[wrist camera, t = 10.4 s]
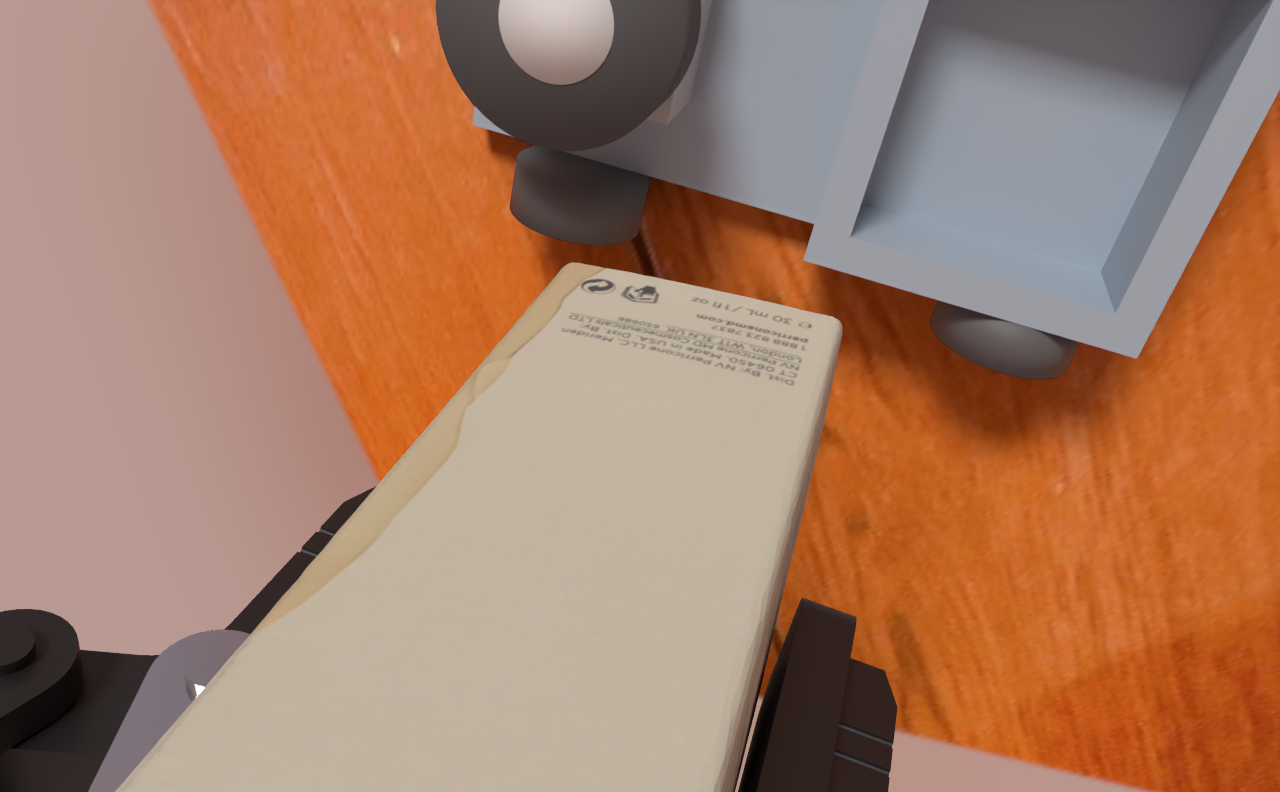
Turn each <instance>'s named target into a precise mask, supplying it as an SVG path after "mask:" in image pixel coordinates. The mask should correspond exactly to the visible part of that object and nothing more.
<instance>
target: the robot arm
mask: <svg viewBox="0 0 1280 792" xmlns="http://www.w3.org/2000/svg"><path fill="white" fill-rule="evenodd" d="M375 488H376V487H374V488H372V489H370V490H368V491H366V492H364V493H362V494H360V495H358V496H355V497H353V498H351V499H350V500H347V501H345V502H344V503H343V504H342V505H341V506H340V507H339V508H338V509H337V510H336V511H335V512H334V513H333V515H331V517H330V518H329V519H328V520H327V521H326V522H325V523H324V524H323V525H322V526H321V529H320V531H319V532H316V533H315V534H314V535H313V536H312V537H311V538H310V539H309V540H308V541H307V542H306V543H305V544H304V545H303V547H302V550H301V552H300V553H299V552H297V553H296V554H295V555H294V556H293V557H292V558H291V560H289V562H288V563H287V564H286V565H285V566H284V567H283V568H282V569H281V570H280V571H279V572H278V573H277V574H276V576H275V577H274V578H273V579H272V580H271V581H270V582H269V583H268V584H267V585H266V586H265V587H264V588H263V589H262V591H261V592H260V593H259V594H258V595H257V596H256V597H255V598H254V599H253V600H252V601H251V602H250V603H249V604H248V606H247V607H246V608H245V609H244V610H243V611H242V612H241V613H240V614H239V615H238V616H237V617H236V618H235V619H234V621H233V622H232V623H231V624H230V625H229V626H228V627H226V628H225V629H224V630H211V631H206V632H200V633H197V634H194V635H190V636H188V637H186V638H184V639H181V640H179V641H177V642H176V643H174V644H173V645H171V646H169V647H168V648H167V649H166V650H165V651H163V652H162V653H161V654H160V655H154V656H150V655H132V654H120V653H109V652H98V651H86V650H80V648H79V642H78V637H77V634H76V632H75V630H74V629H73V627H72V626H71V625H70V624H69V623H68V622H67V621H66V620H64V619H63V618H62V617H60V616H57V615H55V614H53V613H50V612H46V611H42V610H33V609H16V610H9V611H3V612H0V792H115V791H116V790H117V789H118V788H119V787H120V786H121V784H122V783H123V782H124V781H125V780H126V778H127V777H128V776H129V775H130V774H131V773H132V771H133V770H134V769H135V768H136V767H137V766H138V764H139V763H140V762H141V761H142V760H143V759H144V757H145V756H146V755H147V754H148V753H149V752H150V750H151V749H152V748H153V747H154V746H155V744H156V743H157V742H158V741H159V740H160V739H161V737H162V736H163V735H164V734H165V733H166V732H167V731H168V729H169V728H170V727H171V726H172V725H173V724H174V723H175V721H176V720H177V719H178V718H179V717H180V716H181V715H182V713H183V712H184V711H185V710H186V709H187V708H188V707H189V705H190V704H191V703H192V702H193V701H194V700H195V699H196V697H197V696H198V695H199V694H200V693H201V691H202V690H203V689H204V688H205V687H206V685H207V684H208V683H209V682H210V681H211V679H212V678H213V677H214V676H215V675H216V673H217V672H218V671H219V670H220V669H221V667H222V666H223V665H224V664H225V663H226V661H227V660H228V659H229V658H230V657H231V656H232V655H233V654H234V652H235V651H236V650H237V649H238V648H239V647H240V646H241V645H242V644H243V643H244V641H245V640H246V639H247V638H248V637H249V636H250V634H251V633H252V632H253V631H254V630H255V628H256V627H257V626H258V625H259V624H260V623H261V621H262V620H263V619H264V618H265V617H266V615H267V614H268V613H269V612H270V611H271V609H272V608H273V607H274V606H275V605H276V603H277V602H278V601H279V600H280V599H281V597H282V596H283V595H284V594H285V593H286V592H287V591H288V590H289V589H290V587H291V586H292V585H293V584H294V583H295V582H296V581H297V580H298V579H299V577H300V576H301V575H302V573H303V572H304V570H305V569H306V568H307V567H308V566H309V564H310V563H311V562H312V561H313V560H314V559H315V558H316V557H317V556H318V555H319V553H320V552H321V551H322V550H323V549H324V548H325V547H326V545H327V544H328V543H329V541H330V540H331V539H332V538H333V536H334V535H335V534H336V533H337V531H338V530H339V529H340V528H341V527H342V526H343V525H344V523H345V522H346V521H347V520H348V519H349V518H350V517H351V516H352V514H353V513H354V512H355V511H356V510H357V509H358V507H359V506H360V505H361V504H362V503H363V502H364V500H365V499H366V498H367V497H368V496H369V495H370V493H371V492H372V491H373V490H374V489H375ZM855 628H856V617H855V616H852V615H849V614H846V613H843V612H841V611H838V610H835V609H832V608H829V607H827V606H824V605H821V604H818V603H815V602H813V601H810V600H807V599H804V598H802V599H801V601H800V603H799V606H798V608H797V610H796V613H795V616H794V618H793V621H792V623H791V626H790V629H789V631H788V634H787V636H786V639H785V641H784V644H783V647H782V649H781V652H780V654H779V657H778V659H777V662H776V665H775V667H774V670H773V672H772V675H771V678H770V680H769V683H768V686H767V689H766V692H765V695H764V698H763V701H762V704H761V708H760V711H759V714H758V718H757V721H756V725H755V729H754V733H753V736H752V741H751V744H750V748H749V752H748V756H747V759H746V763H745V767H744V771H743V775H742V778H741V782H740V786H739V790H738V792H888V786H889V777H888V776H889V772H890V769H891V760H892V750H893V749H892V744H893V740H894V732H895V723H896V714H897V705H896V702H895V699H894V696H893V693H892V690H891V688H890V685H889V682H888V679H887V676H886V673H885V671H884V670H881V669H879V668H876V667H873V666H870V665H868V664H865V663H862V662H859V661H857V660H854V659H851V658H850V657H851V651H852V645H853V639H854V633H855Z"/></svg>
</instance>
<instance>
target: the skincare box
mask: <svg viewBox="0 0 1280 792" xmlns="http://www.w3.org/2000/svg"><path fill="white" fill-rule="evenodd" d="M842 334H843V331H842V324H841V322H840V321H839V320H837V319H836V318H834V317H832V316H828V315H824V314H818V313H813V312H809V311H803V310H799V309H796V308H792V307H788V306H784V305H779V304H775V303H771V302H767V301H762V300H758V299H754V298H750V297H745V296H740V295H735V294H731V293H726V292H721V291H717V290H713V289H708V288H704V287H699V286H694V285H689V284H685V283H680V282H675V281H670V280H665V279H661V278H656V277H651V276H645V275H640V274H636V273H632V272H626V271H620V270H614V269H609V268H604V267H598V266H593V265H586V264H582V263H574V262H573V263H568V264H567V265H565V266H564V267H563V268H562V269H561V270H560V271H559V273H558V274H557V275H556V276H555V277H554V279H553V280H552V281H551V282H550V283H549V285H548V286H547V287H546V288H545V289H544V290H543V291H542V293H541V294H540V295H539V296H538V297H537V298H536V299H535V301H534V302H533V303H532V304H531V305H530V307H529V308H528V309H527V310H526V311H525V313H524V314H523V315H522V316H521V317H520V318H519V320H518V321H517V322H516V323H515V324H514V326H513V327H512V328H511V329H510V331H509V332H508V333H507V334H506V335H505V337H504V338H503V339H502V340H501V341H500V342H499V343H498V344H497V345H496V346H495V347H494V349H493V350H492V351H491V352H490V354H489V355H488V356H487V357H486V359H485V360H484V361H483V362H482V363H481V365H480V366H479V367H478V368H477V369H476V370H475V372H474V373H473V374H472V375H471V376H470V378H469V379H468V380H467V381H466V382H465V384H464V385H463V386H462V387H461V388H460V389H459V391H458V392H457V393H456V394H455V395H454V397H453V398H452V399H451V400H450V401H449V402H448V404H447V405H446V406H445V407H444V408H443V409H442V411H441V412H440V413H439V414H438V415H437V416H436V418H435V419H434V420H433V421H432V422H431V423H430V425H429V426H428V427H427V428H426V429H425V430H424V432H423V433H422V434H421V435H420V436H419V437H418V439H417V440H416V441H415V442H414V443H413V444H412V446H411V447H410V448H409V449H408V450H407V451H406V452H405V454H404V455H403V456H402V457H401V458H400V459H399V461H398V462H397V463H396V464H395V465H394V466H393V468H392V469H391V470H390V471H389V472H388V473H387V475H386V476H385V477H384V478H383V479H382V480H381V482H380V483H379V484H378V485H377V486H376V488H375V489H374V490H373V491H372V492H371V493H370V495H369V496H368V497H367V498H366V499H365V500H364V502H363V503H362V504H361V505H360V506H359V507H358V509H357V510H356V511H355V512H354V513H353V514H352V516H351V517H350V518H349V519H348V520H347V521H346V522H345V523H344V525H343V526H342V527H341V528H340V529H339V530H338V531H337V533H336V534H335V535H334V536H333V538H332V539H331V540H330V541H329V543H328V544H327V545H326V547H325V548H324V549H323V550H322V551H321V552H320V553H319V555H318V556H317V557H316V558H315V559H314V560H313V561H312V562H311V563H310V564H309V566H308V567H307V568H306V569H305V570H304V572H303V573H302V575H301V576H300V577H299V579H298V580H297V581H296V582H295V583H294V584H293V585H292V586H291V587H290V589H289V590H288V591H287V592H286V593H285V594H284V595H283V596H282V597H281V599H280V600H279V601H278V602H277V603H276V605H275V606H274V607H273V608H272V609H271V611H270V612H269V613H268V614H267V615H266V617H265V618H264V619H263V620H262V621H261V623H260V624H259V625H258V626H257V627H256V628H255V630H254V631H253V632H252V633H251V634H250V636H249V637H248V638H247V639H246V640H245V641H244V643H243V644H242V645H241V646H240V647H239V648H238V649H237V650H236V651H235V652H234V654H233V655H232V656H231V657H230V658H229V659H228V660H227V661H226V663H225V664H224V665H223V666H222V667H221V669H220V670H219V671H218V672H217V673H216V675H215V676H214V677H213V678H212V679H211V681H210V682H209V683H208V684H207V685H206V687H205V688H204V689H203V690H202V691H201V693H200V694H199V695H198V696H197V697H196V699H195V700H194V701H193V702H192V703H191V704H190V705H189V707H188V708H187V709H186V710H185V711H184V712H183V713H182V715H181V716H180V717H179V718H178V719H177V720H176V721H175V723H174V724H173V725H172V726H171V727H170V728H169V729H168V731H167V732H166V733H165V734H164V735H163V736H162V737H161V739H160V740H159V741H158V742H157V743H156V744H155V746H154V747H153V748H152V749H151V750H150V752H149V753H148V754H147V755H146V756H145V757H144V759H143V760H142V761H141V762H140V763H139V764H138V766H137V767H136V768H135V769H134V770H133V771H132V773H131V774H130V775H129V776H128V777H127V778H126V780H125V781H124V782H123V783H122V784H121V786H120V787H119V788H118V789H117V790H116V791H115V792H735V789H736V785H737V780H738V777H739V773H740V769H741V764H742V761H743V756H744V752H745V748H746V744H747V740H748V736H749V732H750V728H751V724H752V720H753V716H754V712H755V708H756V704H757V700H758V696H759V692H760V688H761V684H762V680H763V675H764V670H765V666H766V662H767V658H768V654H769V649H770V645H771V641H772V637H773V633H774V629H775V624H776V621H777V617H778V613H779V609H780V604H781V599H782V595H783V591H784V587H785V583H786V579H787V574H788V570H789V566H790V562H791V558H792V554H793V550H794V546H795V542H796V538H797V534H798V530H799V526H800V522H801V518H802V514H803V510H804V506H805V502H806V498H807V493H808V489H809V485H810V481H811V477H812V472H813V468H814V464H815V460H816V455H817V451H818V447H819V443H820V438H821V434H822V429H823V425H824V420H825V416H826V411H827V407H828V402H829V397H830V392H831V388H832V383H833V378H834V373H835V368H836V363H837V358H838V353H839V348H840V343H841V338H842Z"/></svg>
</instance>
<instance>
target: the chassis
mask: <svg viewBox="0 0 1280 792" xmlns="http://www.w3.org/2000/svg"><path fill="white" fill-rule="evenodd" d="M1279 90H1280V0H701V26H700V32H699V38H698V43H697V46H696V50H695V53H694V57H693V59H692V61H691V64H690V66H689V68H688V71H687V72H686V74H685V76H684V77H683V79H682V81H681V82H680V84H679V86H678V87H677V88H676V89H675V91H674V92H673V93H672V94H671V96H670V97H669V98H668V99H667V100H666V101H665V102H664V103H663V104H662V105H661V106H660V107H658V108H657V109H656V110H655V111H654V112H653V113H652V114H651V115H650V116H649V117H648V118H647V119H646V120H644V121H643V122H642V123H641V124H640V125H639V126H638V127H637V128H635V129H634V130H632V131H631V132H630V133H628V134H627V135H625V136H624V137H622V138H620V139H618V140H616V141H614V142H612V143H609V144H606V145H604V146H601V147H598V148H593V149H588V150H583V151H557V150H550V149H545V148H540V147H536V146H532V147H528V148H526V149H524V150H522V151H520V152H519V153H518V155H517V159H516V166H515V173H514V180H513V187H512V194H511V201H510V210H511V212H512V214H513V216H514V217H515V218H516V219H517V220H518V221H519V222H521V223H522V224H523V225H525V226H527V227H528V228H530V229H532V230H534V231H536V232H538V233H541V234H543V235H546V236H549V237H552V238H555V239H559V240H563V241H567V242H572V243H578V244H587V245H612V244H619V243H623V242H626V241H629V240H631V239H633V238H634V237H636V236H637V235H638V233H639V230H640V226H641V221H642V216H643V212H644V207H645V202H646V198H647V193H648V188H649V184H650V181H649V178H648V176H650V177H654V178H657V179H660V180H664V181H667V182H671V183H674V184H678V185H681V186H685V187H688V188H691V189H695V190H698V191H702V192H705V193H709V194H712V195H716V196H719V197H722V198H726V199H729V200H733V201H736V202H740V203H743V204H747V205H750V206H754V207H757V208H760V209H764V210H767V211H771V212H774V213H778V214H781V215H785V216H788V217H791V218H795V219H798V220H802V221H805V222H809V223H812V224H814V227H813V230H812V233H811V237H810V240H809V243H808V246H807V249H806V253H805V256H804V259H803V261H807V262H810V263H814V264H817V265H820V266H824V267H827V268H831V269H834V270H837V271H841V272H844V273H847V274H851V275H854V276H858V277H861V278H864V279H868V280H871V281H875V282H878V283H881V284H885V285H888V286H892V287H895V288H898V289H902V290H905V291H908V292H912V293H915V294H919V295H922V296H925V297H929V298H932V299H936V300H938V301H937V304H936V306H935V309H934V311H933V314H932V316H931V319H930V326H931V328H932V331H933V332H934V334H935V335H936V336H937V337H938V339H939V340H940V341H941V342H943V343H944V344H945V345H946V346H947V347H949V348H950V349H951V350H953V351H954V352H956V353H957V354H959V355H961V356H962V357H964V358H966V359H968V360H970V361H972V362H974V363H976V364H978V365H980V366H983V367H985V368H988V369H990V370H993V371H996V372H999V373H1003V374H1006V375H1010V376H1015V377H1019V378H1026V379H1036V380H1045V379H1052V378H1056V377H1059V376H1061V375H1062V374H1064V373H1065V371H1066V370H1067V368H1068V366H1069V364H1070V362H1071V360H1072V358H1073V356H1074V354H1075V352H1076V350H1077V348H1078V346H1079V344H1080V342H1081V343H1085V344H1088V345H1092V346H1095V347H1098V348H1102V349H1105V350H1108V351H1112V352H1115V353H1119V354H1122V355H1125V356H1129V357H1132V358H1136V359H1137V358H1138V356H1139V354H1140V352H1141V350H1142V348H1143V346H1144V344H1145V342H1146V341H1147V339H1148V337H1149V335H1150V333H1151V331H1152V329H1153V327H1154V326H1155V324H1156V322H1157V320H1158V318H1159V316H1160V314H1161V312H1162V310H1163V309H1164V307H1165V305H1166V303H1167V301H1168V299H1169V297H1170V295H1171V293H1172V292H1173V290H1174V288H1175V286H1176V284H1177V282H1178V280H1179V278H1180V277H1181V275H1182V273H1183V271H1184V269H1185V267H1186V265H1187V263H1188V261H1189V260H1190V258H1191V256H1192V254H1193V252H1194V250H1195V248H1196V246H1197V245H1198V243H1199V241H1200V239H1201V237H1202V235H1203V233H1204V231H1205V229H1206V228H1207V226H1208V224H1209V222H1210V220H1211V218H1212V216H1213V214H1214V212H1215V211H1216V209H1217V207H1218V205H1219V203H1220V201H1221V199H1222V197H1223V196H1224V194H1225V192H1226V190H1227V188H1228V186H1229V184H1230V182H1231V180H1232V179H1233V177H1234V175H1235V173H1236V171H1237V169H1238V167H1239V165H1240V163H1241V162H1242V160H1243V158H1244V156H1245V154H1246V152H1247V150H1248V148H1249V147H1250V145H1251V143H1252V141H1253V139H1254V137H1255V135H1256V133H1257V131H1258V130H1259V128H1260V126H1261V124H1262V122H1263V120H1264V118H1265V116H1266V114H1267V113H1268V111H1269V109H1270V107H1271V105H1272V103H1273V101H1274V99H1275V98H1276V96H1277V94H1278V92H1279ZM473 125H474V126H478V127H481V128H485V129H488V130H491V131H495V132H498V133H502V134H505V135H509V134H507V133H506V132H504V131H503V130H501V129H500V128H498V127H497V126H495V125H494V124H493V123H492V122H491V121H490V120H488V119H487V118H486V117H485V116H484V115H483V114H482V113H481V112H480V111H479V110H478V109H477V108H476V107H475V108H474V116H473ZM509 136H511V135H509ZM512 137H513V136H512Z"/></svg>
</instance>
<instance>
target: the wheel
mask: <svg viewBox="0 0 1280 792" xmlns="http://www.w3.org/2000/svg"><path fill="white" fill-rule="evenodd" d="M436 14H437V25H438V30H439V35H440V40H441V44H442V47H443V50H444V53H445V57H446V59H447V62H448V64H449V66H450V68H451V71H452V73H453V75H454V77H455V78H456V80H457V82H458V84H459V85H460V87H461V89H462V90H463V91H464V93H465V94H466V96H467V97H468V98H469V100H470V101H471V102H472V103H473V105H474V106H475V107H476V108H477V109H478V110H479V111H480V112H481V113H482V114H483V115H484V116H485V117H486V118H487V119H488V120H490V121H491V122H492V123H493V124H494V125H495V126H497V127H498V128H500V129H501V130H503V131H504V132H506V133H507V134H509V135H511V136H513V137H515V138H517V139H519V140H521V141H523V142H525V143H528V144H531V145H534V146H536V147H540V148H545V149H550V150H557V151H583V150H588V149H593V148H598V147H601V146H604V145H606V144H609V143H612V142H614V141H616V140H618V139H620V138H622V137H624V136H625V135H627V134H628V133H630V132H631V131H632V130H634V129H635V128H637V127H638V126H639V125H640V124H641V123H642V122H643V121H644V120H646V119H647V118H648V117H649V116H650V115H651V114H652V113H653V112H654V111H655V110H656V109H657V108H658V107H660V106H661V105H662V104H663V103H664V102H665V101H666V100H667V99H668V98H669V97H670V96H671V94H672V93H673V92H674V91H675V89H676V88H677V87H678V86H679V84H680V82H681V81H682V79H683V77H684V76H685V74H686V72H687V71H688V68H689V66H690V64H691V61H692V59H693V57H694V53H695V50H696V46H697V43H698V38H699V32H700V26H701V0H436Z"/></svg>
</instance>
